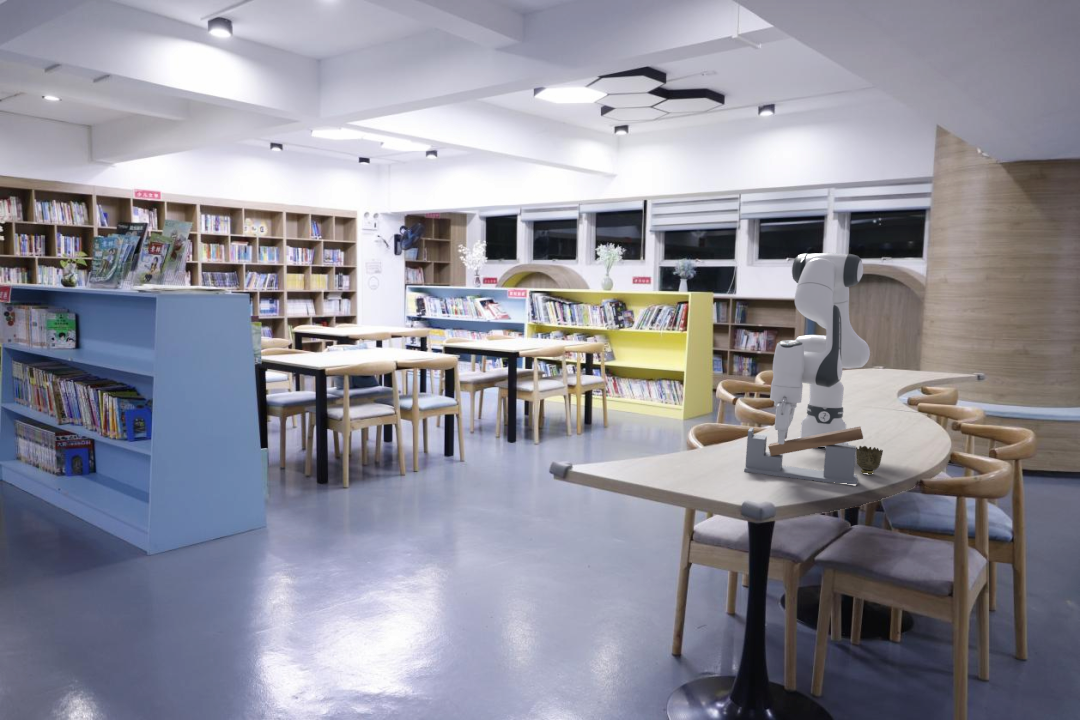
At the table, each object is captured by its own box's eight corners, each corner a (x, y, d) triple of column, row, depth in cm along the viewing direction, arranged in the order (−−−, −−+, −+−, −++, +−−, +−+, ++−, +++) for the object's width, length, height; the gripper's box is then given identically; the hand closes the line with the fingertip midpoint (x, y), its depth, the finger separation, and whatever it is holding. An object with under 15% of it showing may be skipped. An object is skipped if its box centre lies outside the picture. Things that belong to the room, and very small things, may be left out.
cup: (872, 478, 218) (874, 452, 217) (848, 473, 224) (851, 447, 223) (885, 475, 222) (887, 449, 222) (862, 470, 228) (864, 444, 227)
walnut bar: (768, 453, 224) (771, 417, 223) (860, 464, 214) (863, 426, 213) (767, 455, 220) (770, 419, 219) (860, 467, 211) (864, 429, 209)
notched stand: (748, 464, 230) (751, 426, 228) (856, 478, 218) (860, 438, 217) (744, 471, 220) (747, 432, 219) (856, 486, 209) (860, 444, 207)
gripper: (794, 400, 208) (791, 448, 209) (799, 392, 227) (795, 436, 228) (771, 398, 210) (767, 445, 212) (777, 390, 229) (774, 434, 230)
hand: (782, 441), depth 220 cm, fingers open, 8 cm apart
